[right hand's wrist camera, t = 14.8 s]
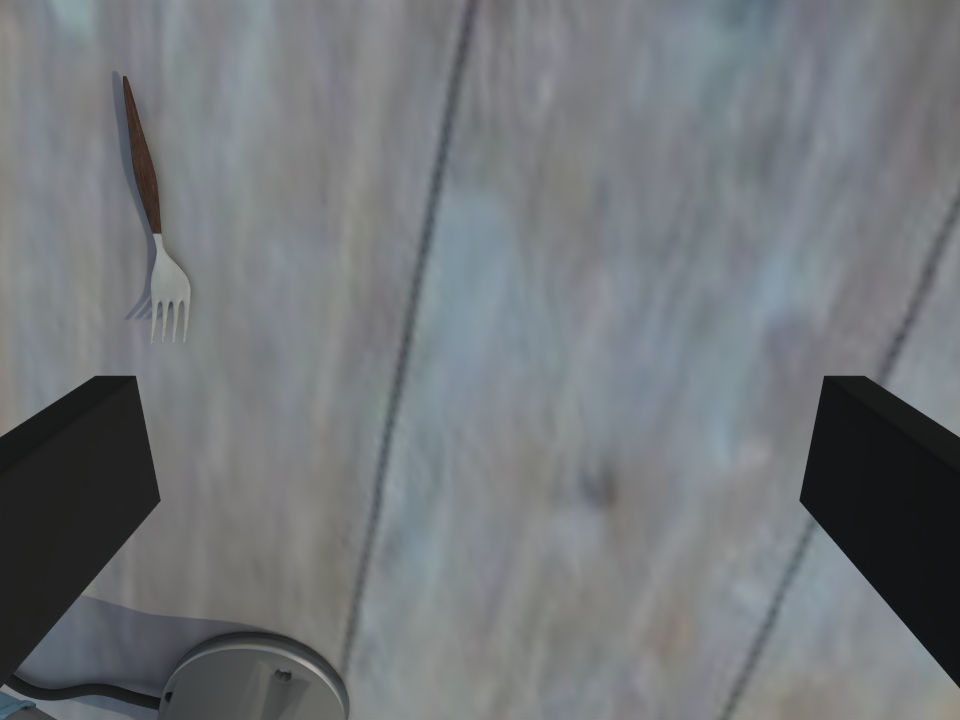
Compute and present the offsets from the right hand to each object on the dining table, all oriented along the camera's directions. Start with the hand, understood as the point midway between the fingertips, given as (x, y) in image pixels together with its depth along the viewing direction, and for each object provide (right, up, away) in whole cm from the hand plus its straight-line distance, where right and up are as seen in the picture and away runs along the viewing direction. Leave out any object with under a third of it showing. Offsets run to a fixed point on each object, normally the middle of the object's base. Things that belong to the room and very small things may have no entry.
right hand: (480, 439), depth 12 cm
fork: (-20, +11, +28) cm, 36 cm away
